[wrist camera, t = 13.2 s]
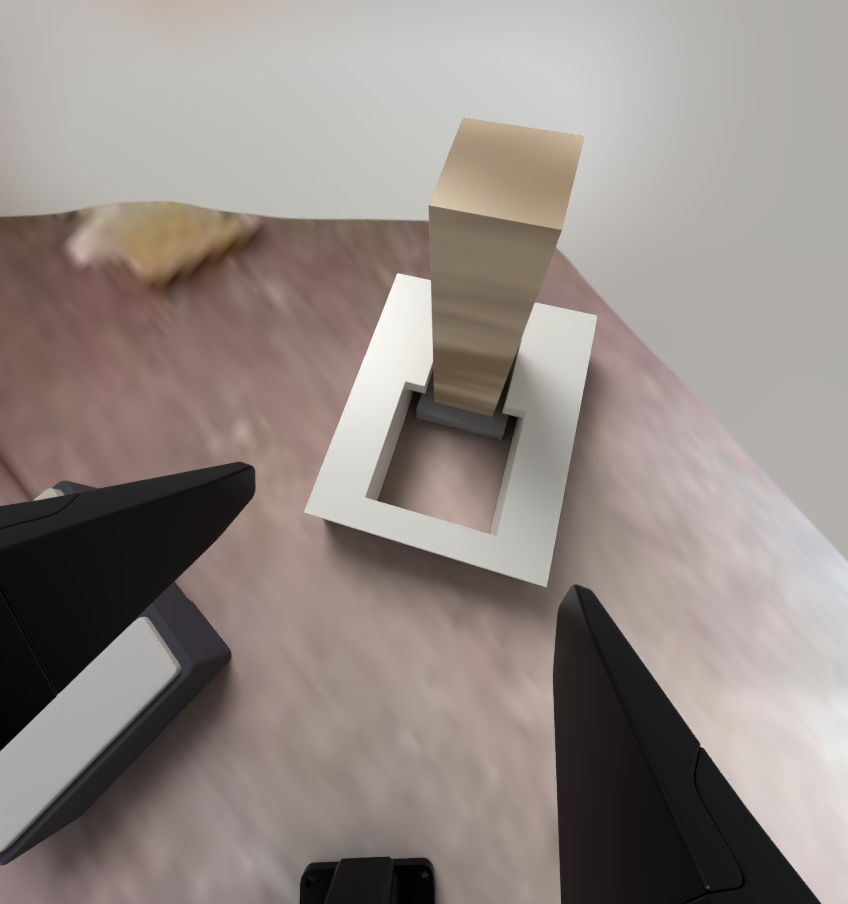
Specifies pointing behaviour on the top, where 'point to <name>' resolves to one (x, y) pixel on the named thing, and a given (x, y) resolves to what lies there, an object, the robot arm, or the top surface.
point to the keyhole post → (490, 262)
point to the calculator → (104, 716)
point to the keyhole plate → (528, 398)
